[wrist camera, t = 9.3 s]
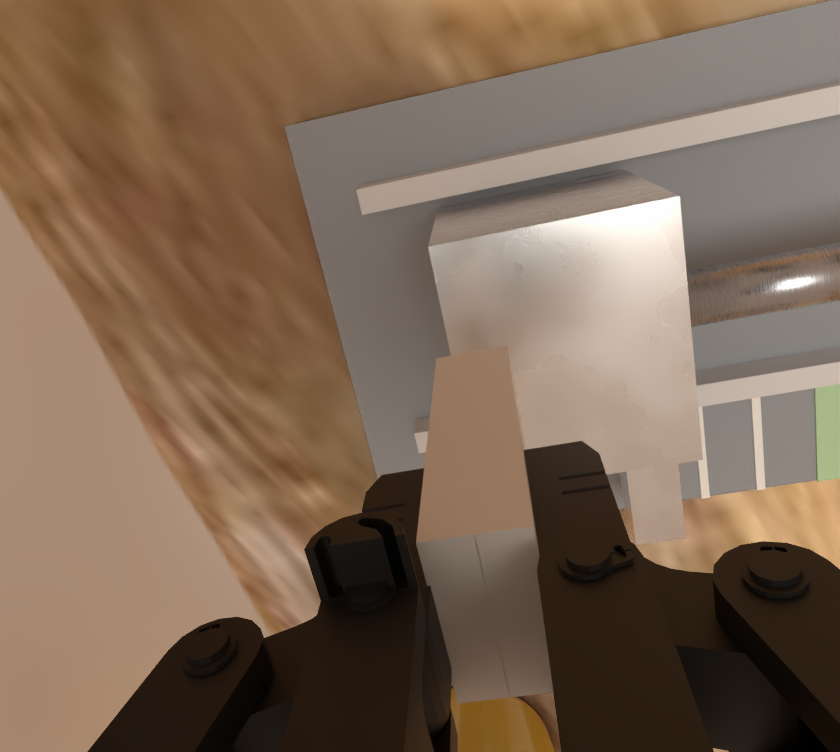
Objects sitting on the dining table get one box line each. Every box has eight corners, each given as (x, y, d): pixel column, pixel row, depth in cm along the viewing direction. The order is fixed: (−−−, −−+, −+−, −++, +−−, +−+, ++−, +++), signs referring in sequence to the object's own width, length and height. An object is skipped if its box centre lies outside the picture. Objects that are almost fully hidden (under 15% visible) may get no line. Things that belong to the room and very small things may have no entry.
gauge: (438, 208, 24) (428, 246, 18) (892, 113, 22) (1054, 120, 16) (498, 508, 28) (507, 624, 22) (888, 449, 26) (1017, 557, 20)
